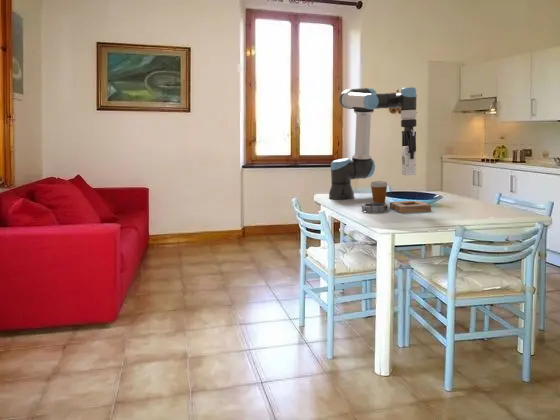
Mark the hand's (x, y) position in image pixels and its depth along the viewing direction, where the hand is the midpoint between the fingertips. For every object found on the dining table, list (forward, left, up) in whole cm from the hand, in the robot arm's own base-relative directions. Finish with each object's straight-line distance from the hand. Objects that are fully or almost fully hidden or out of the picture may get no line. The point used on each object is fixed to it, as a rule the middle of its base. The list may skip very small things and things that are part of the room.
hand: (408, 165), depth 261 cm
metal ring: (+10, -15, -23) cm, 29 cm away
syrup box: (0, 0, -5) cm, 5 cm away
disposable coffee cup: (-9, -22, -23) cm, 33 cm away
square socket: (0, 0, -23) cm, 23 cm away
